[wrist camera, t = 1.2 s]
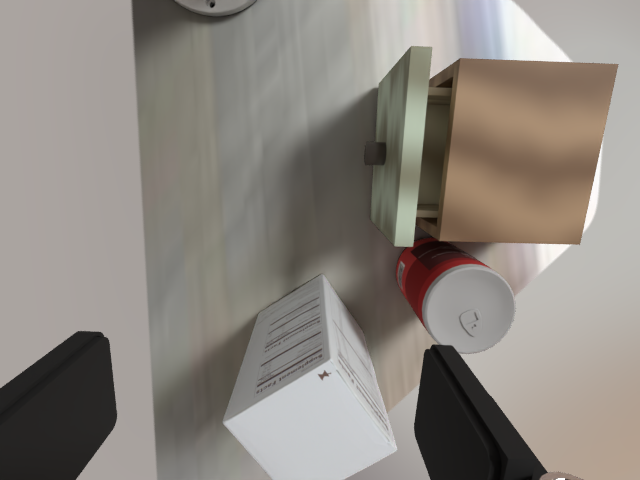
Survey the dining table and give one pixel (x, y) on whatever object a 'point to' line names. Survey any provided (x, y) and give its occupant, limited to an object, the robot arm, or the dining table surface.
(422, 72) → the drawer
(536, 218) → the cabinet
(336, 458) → the supplement box
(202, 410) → the dining table surface
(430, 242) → the canned food
